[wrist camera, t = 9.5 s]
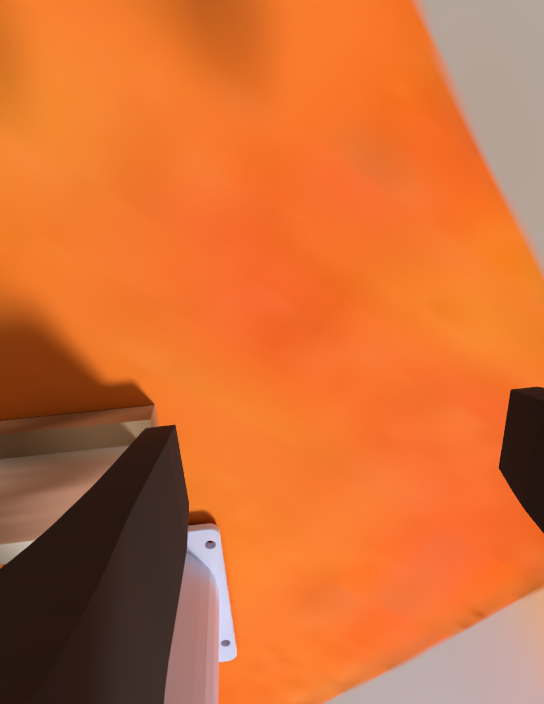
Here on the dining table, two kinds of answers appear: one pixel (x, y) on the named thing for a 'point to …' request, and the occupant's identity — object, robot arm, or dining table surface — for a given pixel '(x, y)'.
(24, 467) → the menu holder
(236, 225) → the dining table surface
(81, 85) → the dining table surface
